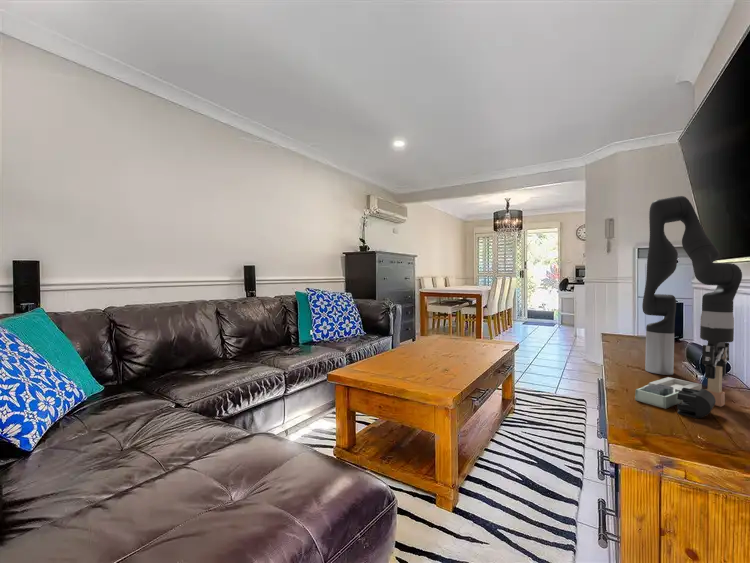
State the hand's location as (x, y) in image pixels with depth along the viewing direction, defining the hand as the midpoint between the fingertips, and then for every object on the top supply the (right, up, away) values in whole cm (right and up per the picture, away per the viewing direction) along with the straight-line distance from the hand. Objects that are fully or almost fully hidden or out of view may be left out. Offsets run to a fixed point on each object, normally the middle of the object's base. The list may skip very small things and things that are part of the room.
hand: (715, 376), depth 108 cm
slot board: (-6, -9, +8) cm, 13 cm away
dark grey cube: (-16, -6, +2) cm, 18 cm away
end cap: (-14, -9, -8) cm, 18 cm away
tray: (-17, -9, +1) cm, 19 cm away
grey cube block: (-14, -8, +3) cm, 17 cm away
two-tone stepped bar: (0, -9, 0) cm, 9 cm away
